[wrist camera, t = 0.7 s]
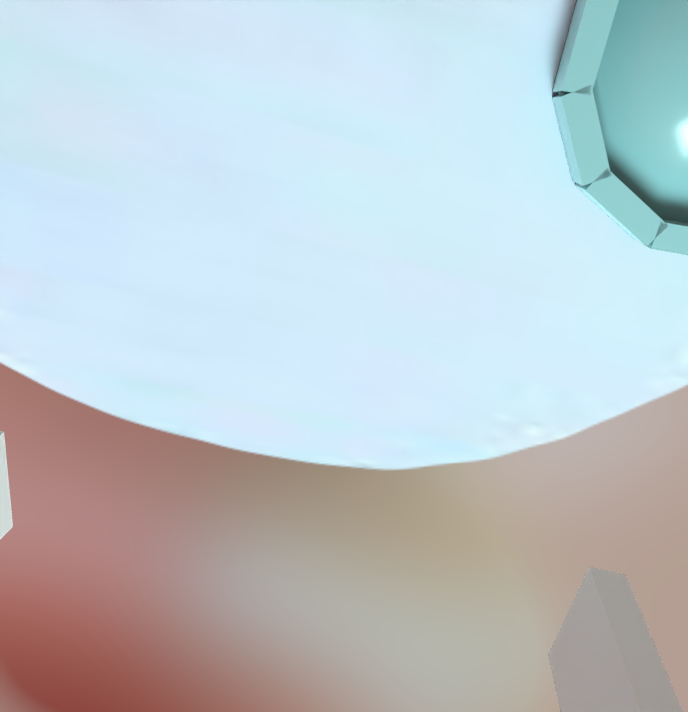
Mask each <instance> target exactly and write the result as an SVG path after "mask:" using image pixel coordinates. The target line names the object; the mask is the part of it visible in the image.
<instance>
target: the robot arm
mask: <svg viewBox="0 0 688 712" xmlns="http://www.w3.org/2000/svg"><path fill="white" fill-rule="evenodd" d="M12 527H13V522H12V512H11V501H10V491H9V480H8V470H7V460H6V450H5V439H4V432H2V431H0V539H1V538H2V537H3V536H4V535H5V534H6V533H7V532H8V531H9V530H10V529H11V528H12ZM548 655H549V660H550V665H551V669H552V674H553V678H554V683H555V688H556V692H557V697H558V702H559V706H560V711H561V712H683V710H682V707H681V705H680V702H679V700H678V698H677V696H676V693H675V691H674V688H673V686H672V683H671V681H670V679H669V676H668V674H667V671H666V669H665V667H664V664H663V662H662V659H661V657H660V655H659V652H658V650H657V648H656V645H655V643H654V641H653V638H652V636H651V633H650V631H649V628H648V626H647V624H646V621H645V619H644V617H643V614H642V612H641V609H640V607H639V605H638V602H637V600H636V597H635V595H634V593H633V590H632V588H631V586H630V583H629V581H628V578H627V576H626V575H625V574H621V573H616V572H612V571H608V570H603V569H599V568H595V567H589V569H588V571H587V573H586V575H585V578H584V580H583V582H582V584H581V586H580V588H579V590H578V593H577V594H576V597H575V599H574V601H573V603H572V605H571V607H570V609H569V612H568V614H567V616H566V618H565V620H564V622H563V624H562V627H561V629H560V631H559V633H558V635H557V637H556V640H555V641H554V643H553V646H552V648H551V650H550V652H549V654H548Z"/></svg>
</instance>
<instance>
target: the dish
mask: <svg viewBox="0 0 688 712" xmlns="http://www.w3.org/2000/svg"><path fill="white" fill-rule="evenodd" d="M552 92H555V93H558V95H557V96H555V97H552V99H553V103H554V107H555V112H556V116H557V120H558V124H559V128H560V132H561V136H562V140H563V144H564V149H565V153H566V157H567V161H568V165H569V169H570V173H571V177H572V181H574V182H576V184H575V186H576V187H577V188H579V189H580V190H581V191H582V192H583V193H584V194H585V195H586V196H587V197H588V198H589V199H591V200H592V201H593V202H594V203H595V204H596V205H597V206H598V207H599V208H600V209H601V210H603V211H604V212H605V213H606V214H607V215H608V216H609V217H610V218H611V219H612V220H613V221H615V222H616V223H617V224H618V225H619V226H620V227H621V228H622V229H623V230H624V231H625V232H627V233H628V234H629V235H630V236H631V237H632V238H634V239H635V240H637V241H638V242H640V243H642V244H643V245H645V246H647V247H649V248H651V249H656V250H662V251H667V252H673V253H679V254H685V255H688V0H577V2H576V6H575V9H574V13H573V17H572V21H571V24H570V28H569V32H568V35H567V39H566V43H565V47H564V50H563V54H562V58H561V61H560V65H559V69H558V72H557V76H556V80H555V84H554V87H553V91H552Z"/></svg>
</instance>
